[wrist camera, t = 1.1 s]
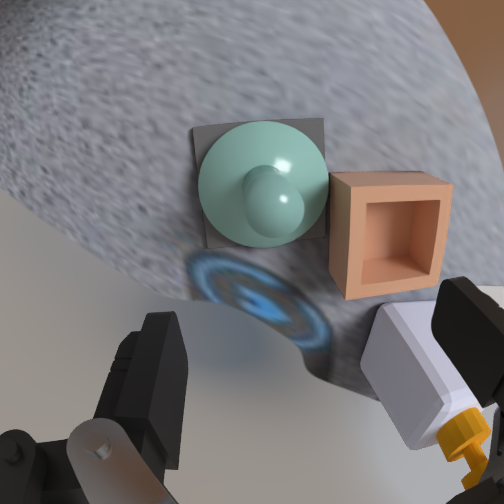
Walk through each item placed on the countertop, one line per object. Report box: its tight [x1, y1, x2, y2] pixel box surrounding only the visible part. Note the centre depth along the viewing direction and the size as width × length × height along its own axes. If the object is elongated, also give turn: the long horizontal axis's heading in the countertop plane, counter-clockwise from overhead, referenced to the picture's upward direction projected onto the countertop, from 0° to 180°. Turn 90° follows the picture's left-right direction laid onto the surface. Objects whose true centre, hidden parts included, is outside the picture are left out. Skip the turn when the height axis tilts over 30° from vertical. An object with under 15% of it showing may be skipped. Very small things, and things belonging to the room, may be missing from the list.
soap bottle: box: [360, 300, 491, 491], centre depth 23 cm, size 10×14×22 cm
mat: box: [193, 118, 326, 248], centre depth 25 cm, size 10×10×1 cm
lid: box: [198, 121, 329, 248], centre depth 21 cm, size 10×10×7 cm
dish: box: [329, 171, 453, 300], centre depth 25 cm, size 9×9×5 cm
